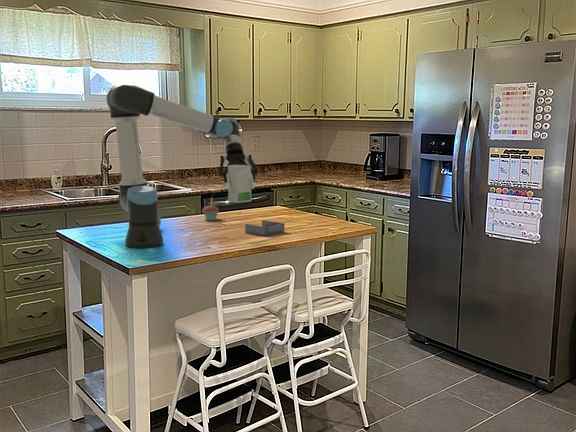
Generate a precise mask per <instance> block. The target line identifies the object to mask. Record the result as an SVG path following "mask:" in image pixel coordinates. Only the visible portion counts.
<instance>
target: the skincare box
mask: <svg viewBox="0 0 576 432" xmlns="http://www.w3.org/2000/svg"><path fill="white" fill-rule="evenodd" d="M228 176H229V182H230V190H228V189H227V191H228V192H227V193H228V196H227V198H228V202H229V203H235V204H239V203H248V202H249V203H250V202H252V187H251V166H250V165H249V164H248V165H230V166H228Z"/></svg>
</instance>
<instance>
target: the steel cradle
mask: <svg viewBox="0 0 576 432" xmlns="http://www.w3.org/2000/svg"><path fill="white" fill-rule="evenodd" d="M244 232H245V234H249V235H256V236H262V237H270V236H273V235H277V234H281V233H284V232H285V223H284V222H279V221H278V222H277V221H272V220H265V219H262V220H261V225H257V224H256V225H255V224H249V223H245V224H244Z"/></svg>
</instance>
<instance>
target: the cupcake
mask: <svg viewBox="0 0 576 432" xmlns="http://www.w3.org/2000/svg"><path fill="white" fill-rule="evenodd" d="M219 210H220V209H219V208H218V207H217V206H216V205H213V197H211V198H210V205H206V206H204V207H203V208H202V210H201V213H202V214H203V215H204V217H205V220H206V221H216V219H217V216H218V215H219V213H220V211H219Z"/></svg>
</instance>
